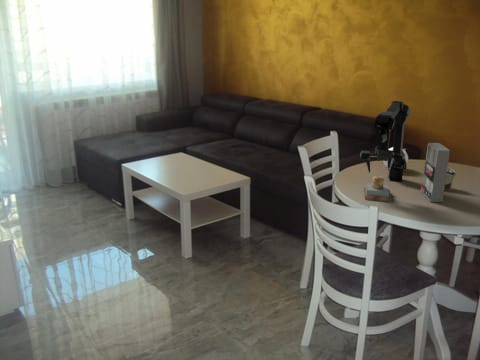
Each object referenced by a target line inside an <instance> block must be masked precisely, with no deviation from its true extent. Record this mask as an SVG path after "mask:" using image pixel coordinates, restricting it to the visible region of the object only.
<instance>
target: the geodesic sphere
mask: <svg viewBox="0 0 480 360" xmlns="http://www.w3.org/2000/svg"><path fill="white" fill-rule="evenodd" d="M388 149H389V150H393V146H392V147H390V148H388ZM406 150H407V148H402V151H403V152H404V154H405V159H406V163H407V164H408V161H409V155H408V153H407V152H406ZM382 162H383V163H384V166H385V167H386V168H387V169H388V170H389V169H390V168H388V161H382ZM402 167H403V166H402Z"/></svg>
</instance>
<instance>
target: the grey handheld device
mask: <svg viewBox="0 0 480 360" xmlns="http://www.w3.org/2000/svg"><path fill="white" fill-rule="evenodd" d="M450 152H451V150H450V149H448V148H447V147H446V146H445V145H443V144H442V143H440V142H428V143H427V149H426V157H425V163H424V171H423V179H422V183H421V184H420V190H419V192H420V193H421V194H422V195H423V196H424V198H426V200H428V201H429V203H443V202H444V194H445V193H444V192H445V190H444V187H445V180H446V174H447V168H449V167H448V165H449V159H450V158H449V157H450V154H451V153H450Z"/></svg>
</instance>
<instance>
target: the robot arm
mask: <svg viewBox="0 0 480 360" xmlns="http://www.w3.org/2000/svg"><path fill="white" fill-rule="evenodd" d="M410 114H411V109H410V106H408V105H407V104H405V102H404V101H400V100H392V101H391V104H390V106H389V107H388V108H387V109H386V110H385V111H383V112H380V113H378V115H377V116H376V117H375V120H374V124H373V126H372V130H374V133H372V134H371V135H370V137H369V141H370V143H371V145H372V146H375V151H374V152H373V153H372V152H370V150H361V151H360V154H359V155H360V160H362V161H364V162H365V163H366V166H367V170H368V174H370V173H371V158H376V160H377V161H378V162H379V161H380V162H381V161H382V162H383V161H388V168H387V169H388V180H389V181H393V182H403V181H404V180H403V174H404V171H406V170H407V168H408V167H407V165H408V162H407V163H406V159H405V154H404V152H403V151H402V149H403V144H404V135H405V134H404V133H405V123H406V121H407V120H408V119H409V117H410ZM393 128H394V131H393V142H392V145H393V146H392V147H393V150H389V149H390V148H389V147H390V138H391V131H392V130H393ZM402 166H403V167H402ZM389 168H390V169H389Z"/></svg>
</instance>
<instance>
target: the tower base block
mask: <svg viewBox="0 0 480 360" xmlns="http://www.w3.org/2000/svg"><path fill="white" fill-rule="evenodd" d="M366 190H367V187H364V188H363V196H364V197H363V198H364V200H368V201H382V202H392V195H391V190H390V189H389V197H384V196H372V195H366Z"/></svg>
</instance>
